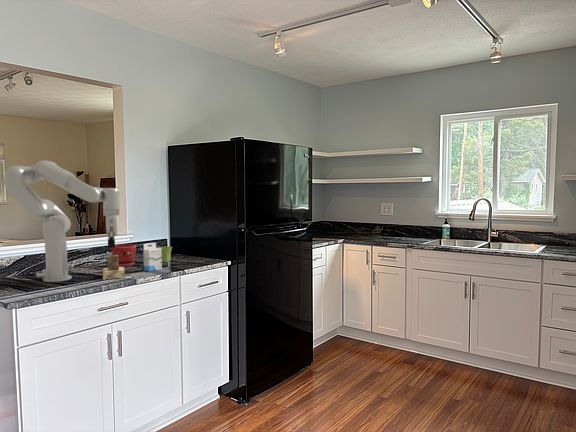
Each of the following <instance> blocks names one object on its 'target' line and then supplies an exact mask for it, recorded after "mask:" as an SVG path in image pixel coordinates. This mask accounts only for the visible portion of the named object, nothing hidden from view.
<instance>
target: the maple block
mask: <svg viewBox="0 0 576 432" xmlns="http://www.w3.org/2000/svg"><path fill="white" fill-rule="evenodd" d="M125 272H126V271H125V267H119V270H110V271H108V267H106V268H104V267H103V268H102V281H107V280H106V279H108V280H117V279H116V278H121V279H126V277H125V276H126V273H125Z"/></svg>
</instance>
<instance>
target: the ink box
mask: <svg viewBox="0 0 576 432" xmlns="http://www.w3.org/2000/svg"><path fill="white" fill-rule="evenodd" d="M162 263H163V262H162V255H161V248H158V247H157V242H149V243H143V271H145V272H154V271H159V270H162V269H163V268H162V266H163V264H162Z"/></svg>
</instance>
